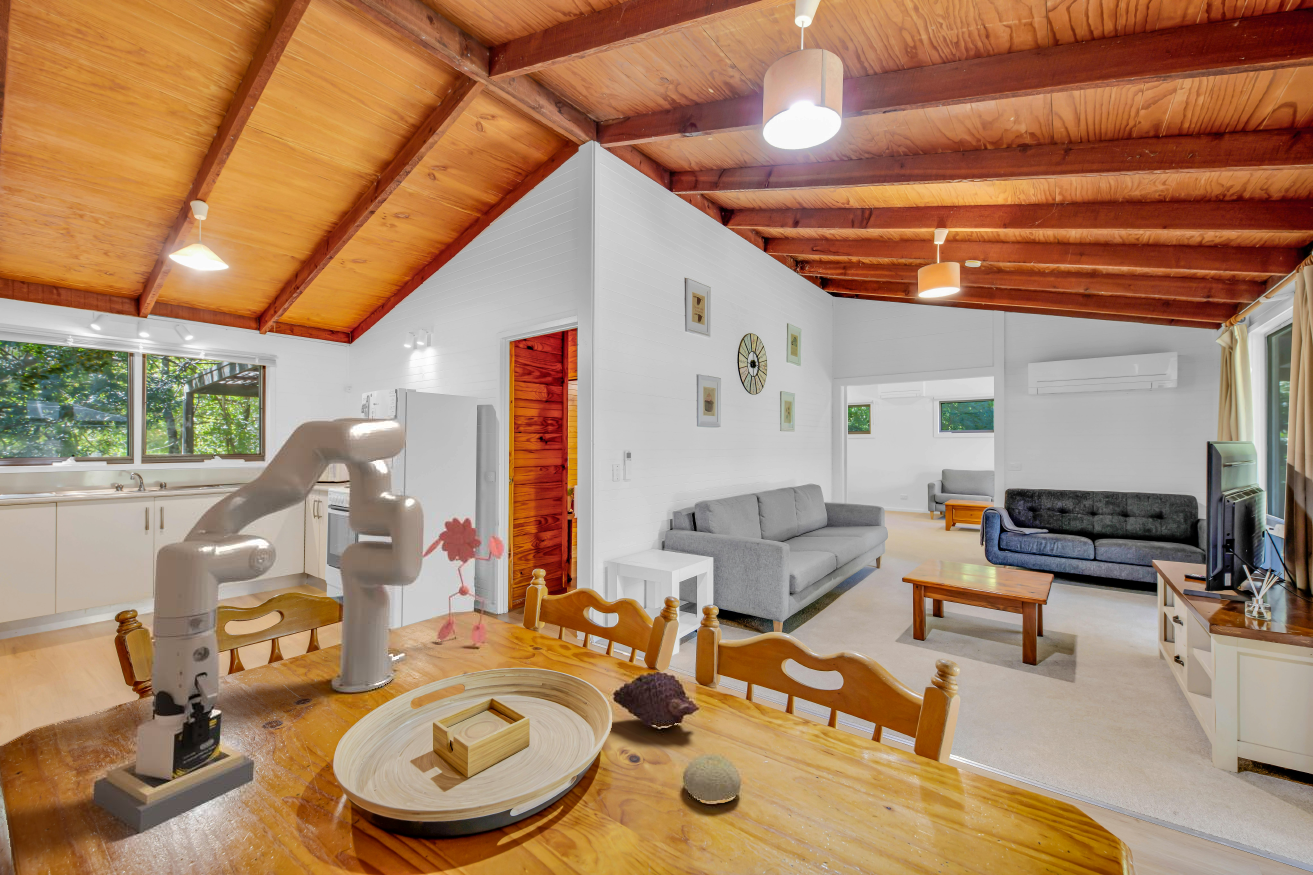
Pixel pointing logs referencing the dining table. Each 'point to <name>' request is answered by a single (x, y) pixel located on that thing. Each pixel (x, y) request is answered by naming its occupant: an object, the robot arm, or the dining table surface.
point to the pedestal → (169, 789)
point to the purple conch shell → (655, 699)
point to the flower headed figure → (462, 545)
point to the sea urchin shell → (712, 778)
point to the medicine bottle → (172, 741)
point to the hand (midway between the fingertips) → (180, 737)
